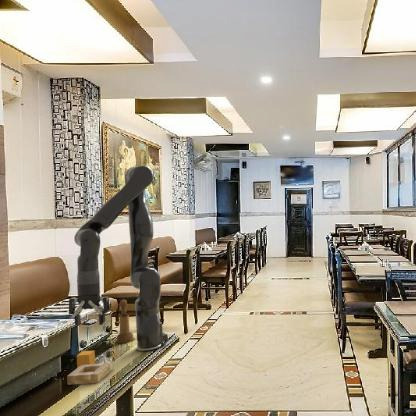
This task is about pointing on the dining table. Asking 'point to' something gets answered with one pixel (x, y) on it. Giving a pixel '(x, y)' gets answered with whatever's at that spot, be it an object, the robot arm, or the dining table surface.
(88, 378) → the wooden square tray
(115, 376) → the dining table surface
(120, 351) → the dining table surface
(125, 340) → the brown tall wooden piece
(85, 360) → the orange block
